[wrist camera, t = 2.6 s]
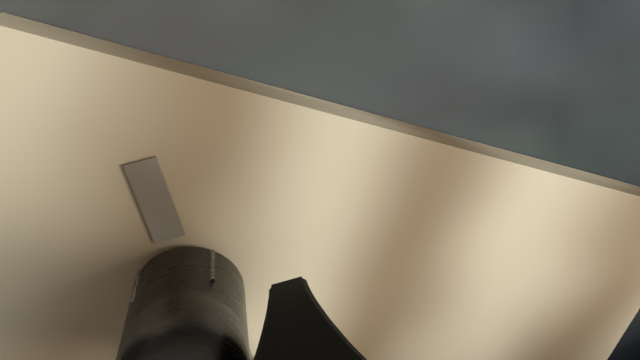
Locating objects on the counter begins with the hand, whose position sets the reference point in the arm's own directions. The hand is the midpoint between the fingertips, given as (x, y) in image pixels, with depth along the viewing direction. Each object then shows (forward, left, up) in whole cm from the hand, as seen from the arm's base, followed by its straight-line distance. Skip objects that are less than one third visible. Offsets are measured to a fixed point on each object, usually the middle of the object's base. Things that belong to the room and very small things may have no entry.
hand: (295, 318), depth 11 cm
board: (-2, +8, -3) cm, 9 cm away
